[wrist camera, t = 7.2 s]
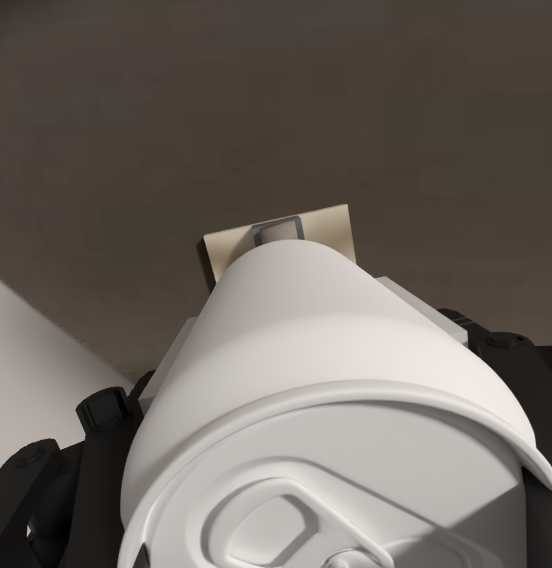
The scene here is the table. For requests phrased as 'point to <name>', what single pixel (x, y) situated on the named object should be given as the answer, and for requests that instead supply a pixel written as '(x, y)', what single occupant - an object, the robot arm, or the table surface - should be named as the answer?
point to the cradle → (282, 235)
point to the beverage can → (326, 433)
